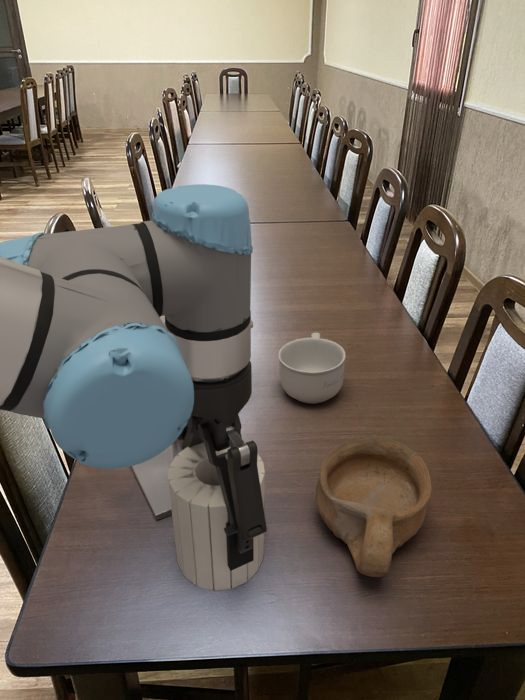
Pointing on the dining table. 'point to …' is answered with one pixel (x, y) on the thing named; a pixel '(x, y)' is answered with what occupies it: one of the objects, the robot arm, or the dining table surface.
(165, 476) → the towel stand
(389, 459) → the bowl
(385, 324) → the dining table surface
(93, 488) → the dining table surface
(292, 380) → the teacup
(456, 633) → the dining table surface
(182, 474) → the paper towel roll
